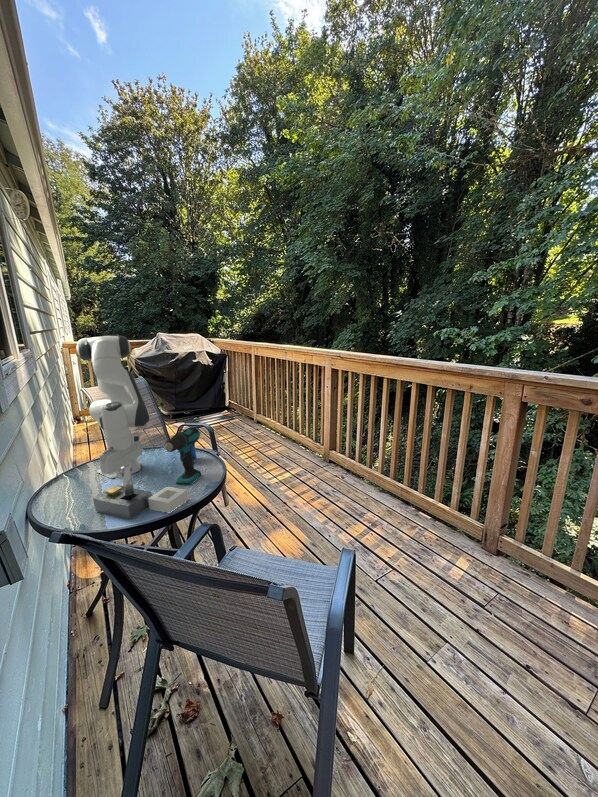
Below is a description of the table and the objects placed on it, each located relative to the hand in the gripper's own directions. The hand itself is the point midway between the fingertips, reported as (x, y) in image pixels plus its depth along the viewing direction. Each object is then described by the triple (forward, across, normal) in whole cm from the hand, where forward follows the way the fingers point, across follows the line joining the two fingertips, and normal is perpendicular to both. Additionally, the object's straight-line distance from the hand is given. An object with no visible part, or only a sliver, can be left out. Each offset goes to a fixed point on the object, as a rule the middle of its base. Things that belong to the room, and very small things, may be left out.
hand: (125, 474), depth 143 cm
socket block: (+16, 0, +4) cm, 16 cm away
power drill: (+17, +26, -10) cm, 33 cm away
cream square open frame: (+16, +5, -14) cm, 22 cm away
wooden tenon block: (+16, +1, +9) cm, 18 cm away
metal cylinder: (+9, 0, 0) cm, 9 cm away
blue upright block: (+17, +48, +1) cm, 51 cm away
